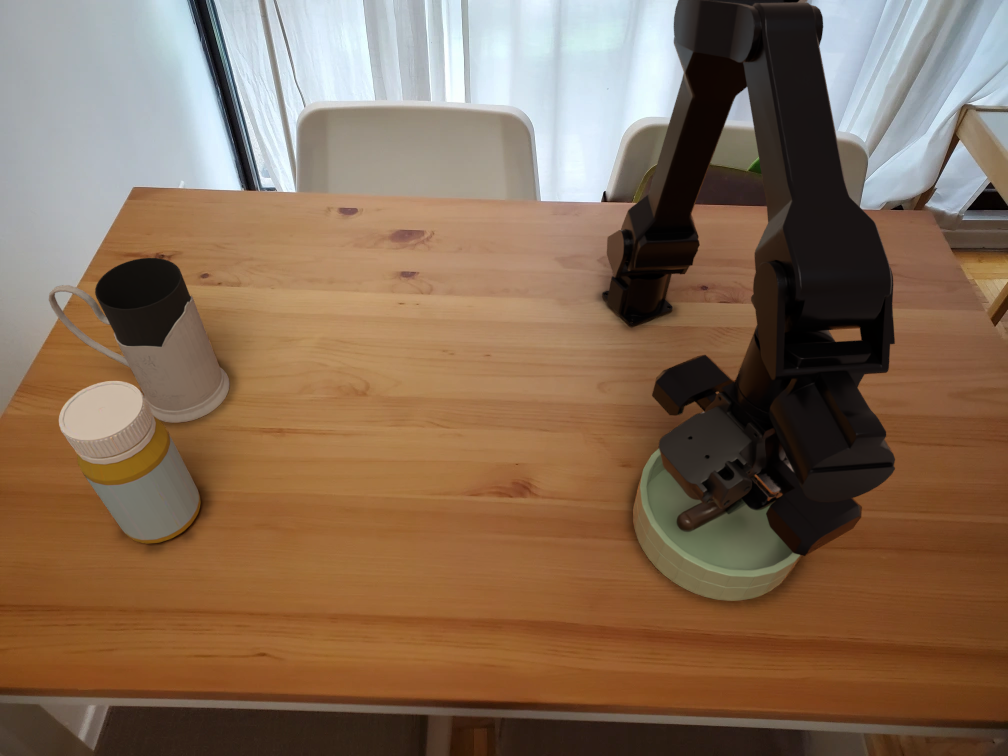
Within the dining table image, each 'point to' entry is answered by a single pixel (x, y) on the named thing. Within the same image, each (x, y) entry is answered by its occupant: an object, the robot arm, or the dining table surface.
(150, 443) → the bottle
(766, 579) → the bowl
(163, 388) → the glass holder
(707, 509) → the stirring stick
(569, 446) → the dining table surface
